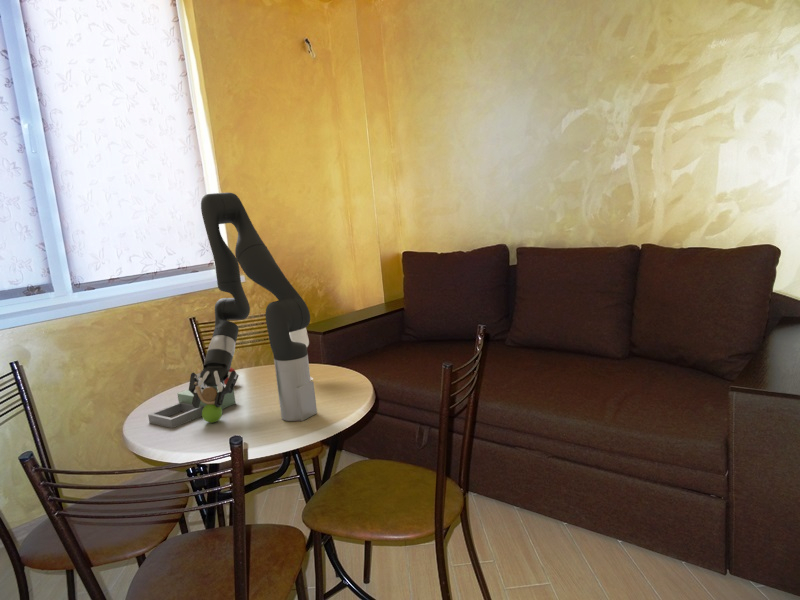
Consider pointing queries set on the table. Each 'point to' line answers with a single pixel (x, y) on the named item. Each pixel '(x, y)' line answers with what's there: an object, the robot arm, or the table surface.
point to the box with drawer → (185, 409)
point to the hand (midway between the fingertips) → (206, 406)
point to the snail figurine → (209, 404)
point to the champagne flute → (300, 338)
